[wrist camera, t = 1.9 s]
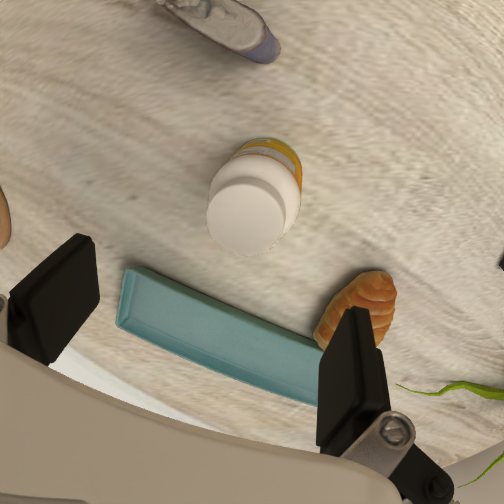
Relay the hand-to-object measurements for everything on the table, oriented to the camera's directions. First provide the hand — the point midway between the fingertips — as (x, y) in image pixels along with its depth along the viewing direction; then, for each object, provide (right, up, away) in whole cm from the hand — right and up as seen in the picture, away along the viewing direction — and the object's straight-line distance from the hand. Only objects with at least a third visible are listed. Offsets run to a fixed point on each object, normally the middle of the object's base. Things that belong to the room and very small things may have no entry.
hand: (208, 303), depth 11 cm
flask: (0, +18, +8) cm, 20 cm away
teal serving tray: (0, -7, +23) cm, 24 cm away
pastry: (+11, -4, +19) cm, 22 cm away
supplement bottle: (+3, +8, +13) cm, 16 cm away
